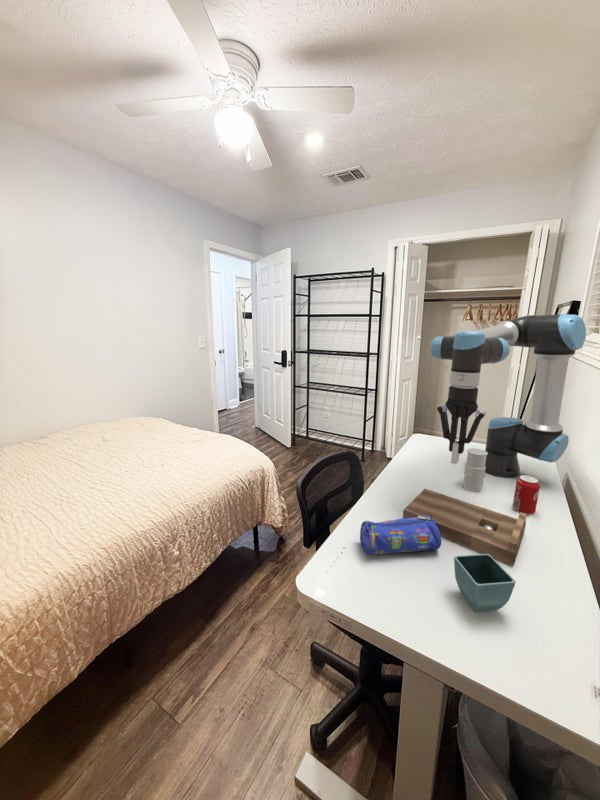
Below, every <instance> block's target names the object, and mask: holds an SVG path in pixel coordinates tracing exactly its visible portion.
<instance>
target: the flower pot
mask: <svg viewBox="0 0 600 800" xmlns="http://www.w3.org/2000/svg"><path fill="white" fill-rule="evenodd" d="M453 560H454V561H453V562H454V563H453V564H454V576H455V581H456V584H457V588H458V589H459V591H460V593H461V595H462V596H463V597H464V599H465V600H466V602H467V603H468V604H469V606H470V607H471V609H472V610H473V612H474V613H475V612H476V613H481V612H493V611H494V612H495V611H498V610H499V609H501V608H503V607H504V606H505V605H506V604H507V603H508V602H509V601H510V599H511V596H512V593H513V591H514V589H515V585H516V583H517V582H516V580H515V578H513V577H512V576H511V575H510V573H508V572H507V571H506V569H504V568H503V567H502V566H501V564H499V562H497V560H496V559H494V558H493V557H492V556H491V555H489V554H481V553H479V554H467V555H455V556H454V557H453Z"/></svg>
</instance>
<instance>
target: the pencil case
mask: <svg viewBox="0 0 600 800" xmlns="http://www.w3.org/2000/svg"><path fill="white" fill-rule="evenodd" d="M359 541H360V546H361V547H360V548H361V549H362V551H363V552H364V554H365V555H375V554H376V555H381V554H382V555H383V554H390V553H391V554H392V553H393V554H394V553H408V552H409V553H410V552H420V551H428V550H430V549H432V550H439V549H440V548H441V546H442V537H441V536H440V532H439V530H438V527H437V523H436V522H435V521H434V520H433V519H432V517H431V516H426V515H424V516H418V517H413V518H403V517H402V518H398V519H397V518H396V519H391V520H385V521H378V522H373V521H370V520H364V521H363V522H362V523H361V526H360V532H359Z"/></svg>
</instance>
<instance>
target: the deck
mask: <svg viewBox="0 0 600 800" xmlns="http://www.w3.org/2000/svg"><path fill="white" fill-rule="evenodd" d="M402 511H403V512H402V513H403V514H402V519H403V518H413V517H418V516H424V515H426V516H431V517H432V519H433V520H434V521H435V522H436V523H437V527H438V530H439V532H440V536H441V538H443V539H446V540H448V541H451V542H453V543H455V544H457V545H460V546H462V547H465V548H468V549H470V550H471V551H472V550H473V551H475V552H477V553H479V554H489V555H491V556H492V557H493V558H494V559H495V561H499V562H501V563H503V564H506V565H508V566H510V567H514V566H515V563H516V560H517V556H518V554H519V550H520V547H521V545H522V541H523V538H524V536H525V535H524V534H525V530H526V524H527V522H526V520H527V519H526V518H527V515H526V514H525V513H521V512H520V514H518V517H517V518H516V517H512V516H509V515H507V514H504V513H500V512H497V511H493V510H491V509H488V508H485V507H482V506H479V505H476V504H472V503H470V502H466V501H464V500H461V499H458V498H455V497H451V496H449V495H446V494H442V493H440V492H438V491H437V492H436V491H433V490H430V489H427V488H423V490H422V491H421V492H420V493H418V495H417V496H415V498H413V500H411V502H410V503H408V505H406V506H405V507H404V508H403V510H402ZM484 525H490V526H492V527H493V528H494V530H495V531H493V530H490V529H487V528H485V527H483V526H484Z"/></svg>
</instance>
